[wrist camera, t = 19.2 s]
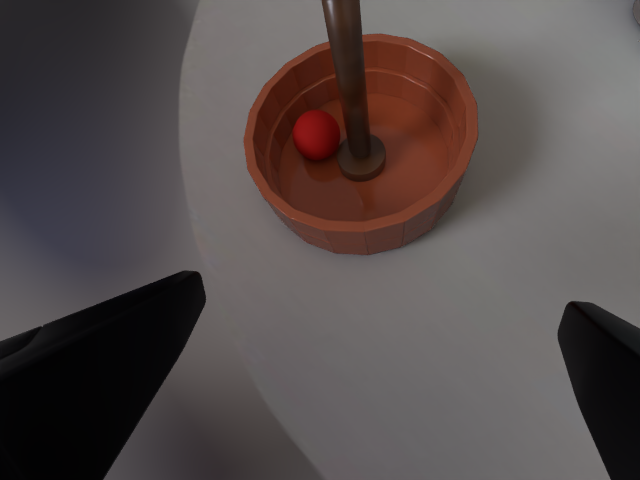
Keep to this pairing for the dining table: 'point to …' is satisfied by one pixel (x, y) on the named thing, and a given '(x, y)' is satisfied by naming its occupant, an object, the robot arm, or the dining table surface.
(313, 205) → the bowl
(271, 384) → the dining table surface
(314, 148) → the cherry tomato
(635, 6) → the coffee cup
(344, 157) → the brown wooden rod
